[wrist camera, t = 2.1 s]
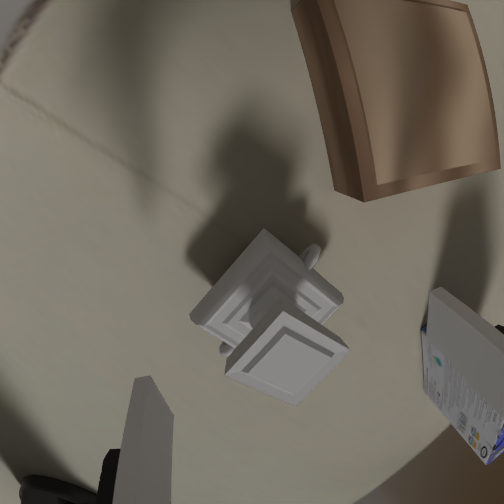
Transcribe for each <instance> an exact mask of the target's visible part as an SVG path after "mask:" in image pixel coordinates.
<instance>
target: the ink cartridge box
mask: <svg viewBox="0 0 504 504" xmlns="http://www.w3.org/2000/svg"><path fill="white" fill-rule="evenodd" d="M426 332H427V325H426V326H425V327H423V328H422V331H421V337H422V350H423V367H424V392H425V394H426V395H427V396H428V397H429V398H430V399H431V401H432V402H433V403H434V404H435V405H436V406H437V408H438V409H439V410H440V411H441V412H442V413H443V414H444V416H445V417H446V418H447V419H448V420H449V421H450V423H451V424H452V425H453V426H454V427H455V429H456V430H457V431H458V432H459V433H460V435H461V436H462V437H463V438H464V439H465V441H466V442H467V443H468V444H469V445H470V446H471V448H472V449H473V450H474V451H475V452H476V454H477V455H478V456H479V457H480V458H481V460H482V461H483V462H484V463H485V464H486V465H487V464H489V463H491V462H492V461H493V460H494V459H495V458H497V457H498V456H499V455H500V454H501V453H502V452H504V420H503V418H502V417H501V416H500V415H499V414H498V413H497V412H496V411H495V409H494V408H493V407H492V406H491V405H490V404H489V403H488V402H487V400H486V399H485V398H484V397H483V396H482V395H481V394H480V393H479V392H478V391H477V390H476V388H475V387H474V386H473V385H472V384H471V383H470V382H469V381H468V380H467V379H466V378H465V377H464V376H463V375H462V373H461V372H460V371H459V370H458V369H457V368H456V367H455V366H454V365H453V364H452V363H451V362H450V361H449V360H448V359H447V358H446V357H445V356H444V355H443V354H442V353H441V352H440V351H439V350H438V349H437V348H436V346H435V345H434V344H433V343H432V342H431V341H430V340H429V339H428V338H427V337H426Z"/></svg>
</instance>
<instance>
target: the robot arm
mask: <svg viewBox="0 0 504 504" xmlns="http://www.w3.org/2000/svg"><path fill="white" fill-rule="evenodd" d="M426 337H427V338H428V339H429V340H430V341H431V342H432V343H433V344H434V345H435V346H436V348H437V349H438V350H439V351H440V352H441V353H442V354H443V355H444V356H445V357H446V358H447V359H448V360H449V361H450V362H451V363H452V364H453V365H454V366H455V367H456V368H457V369H458V370H459V371H460V372H461V373H462V375H463V376H464V377H465V378H466V379H467V380H468V381H469V382H470V383H471V384H472V385H473V386H474V387H475V388H476V390H477V391H478V392H479V393H480V394H481V395H482V396H483V397H484V398H485V399H486V400H487V402H488V403H489V404H490V405H491V406H492V407H493V408H494V409H495V411H496V412H497V413H498V414H499V415H500V416H501V417H502V418H503V420H504V326H501V325H497V326H495V327H494V326H492V325H491V324H490V323H489V322H487V321H486V320H485V319H483V318H482V317H481V316H480V315H478V314H477V313H476V312H474V311H473V310H472V309H471V308H469V307H468V306H467V305H465V304H464V303H463V302H461V301H460V300H459V299H457V298H456V297H455V296H453V295H452V294H451V293H449V292H448V291H446V290H445V289H444V288H442V287H439V288H436V289H434V290H432V291H429V304H428V319H427V332H426ZM173 420H174V415H173V413H172V412H171V410H170V408H169V407H168V405H167V403H166V402H165V400H164V398H163V397H162V395H161V393H160V391H159V390H158V388H157V386H156V385H155V383H154V381H153V379H152V377H151V376H144V377H139V378H135V380H134V385H133V389H132V394H131V398H130V403H129V408H128V413H127V418H126V423H125V428H124V433H123V439H122V444H121V449H110V450H109V452H108V453H107V455H106V456H105V458H104V460H103V465H102V472H101V475H100V481H99V486H98V492H97V496H96V495H94V494H92V493H90V492H88V491H86V490H83V489H81V488H78V487H76V486H73V485H70V484H68V483H65V482H61V481H58V480H55V479H51V478H46V477H40V476H28V477H25V478H24V479H23V480H22V484H21V487H20V490H19V496H20V500H21V504H171V473H172V442H173Z"/></svg>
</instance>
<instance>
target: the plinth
mask: <svg viewBox="0 0 504 504" xmlns="http://www.w3.org/2000/svg"><path fill="white" fill-rule="evenodd" d="M291 12H292V15H293V18H294V22H295V25H296V28H297V31H298V35H299V38H300V42H301V45H302V49H303V52H304V56H305V59H306V63H307V67H308V71H309V74H310V78H311V82H312V86H313V90H314V94H315V98H316V103H317V107H318V111H319V115H320V120H321V124H322V129H323V133H324V138H325V143H326V148H327V153H328V158H329V163H330V168H331V173H332V179H333V184H334V190H335V191H337V192H339V193H342V194H345V195H347V196H350V197H352V198H355V199H357V200H360V201H362V202H367V201H371V200H375V199H379V198H383V197H387V196H391V195H395V194H399V193H403V192H407V191H411V190H415V189H419V188H423V187H427V186H431V185H435V184H439V183H443V182H447V181H451V180H455V179H459V178H463V177H467V176H472V175H476V174H480V173H484V172H488V171H493V170H497V169H501V167H500V153H499V142H498V133H497V125H496V118H495V111H494V105H493V99H492V93H491V88H490V83H489V78H488V74H487V69H486V65H485V61H484V57H483V53H482V50H481V46H480V42H479V39H478V36H477V32H476V29H475V26H474V23H473V20H472V17H471V14H470V11H469V8H468V6H467V5H466V4H462V3H458V2H454V1H450V0H300V1H299V2H298V4H297V5H296V6H295V8H294V9H293V10H292V11H291Z"/></svg>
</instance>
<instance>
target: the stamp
mask: <svg viewBox="0 0 504 504" xmlns="http://www.w3.org/2000/svg"><path fill="white" fill-rule="evenodd" d="M320 251H321V247H320V246H318V245H316V244H311V245H310V246H308V247H307V248H306V249H305V250H304V251H303V252H302V253H301V254H300V255H298V256H297V255H296V254H295V253H294V252H293V251H291V250H290V249H289V248H288V247H287V246H285V245H284V244H283V243H282V242H281V241H279V240H278V239H277V238H276V237H275V236H273V235H272V234H271V233H270V232H269V231H267V230H266V229H265V228H263V229H262V231H261V232H260V233H259V234H258V235H257V236H256V237H255V239H254V240H253V241H252V242H251V243H250V244H249V246H248V247H247V248H246V249H245V250H244V251H243V252H242V254H241V255H240V256H239V257H238V258H237V259H236V261H235V262H234V263H233V264H232V265H231V266H230V268H229V269H228V270H227V271H226V272H225V273H224V274H223V276H222V277H221V278H220V279H219V280H218V281H217V283H216V284H215V285H214V286H213V287H212V288H211V290H210V291H209V292H208V293H207V294H206V295H205V297H204V298H203V299H202V300H201V301H200V302H199V304H198V305H197V306H196V307H195V308H194V309H193V311H192V312H191V313H190V314H189V315H190V319H191V320H192V321H193V322H194V323H195V324H196V325H198V326H200V327H201V328H203V329H204V330H206V331H207V332H209V333H211V334H212V335H214V336H215V337H217V338H219V339H220V340H222V341H223V342H222V344H221V345H220V355H222V356H229V357H228V358H227V360H226V367H225V376H227V377H229V378H231V379H234V380H236V381H238V382H240V383H242V384H244V385H247V386H249V387H251V388H253V389H256V390H258V391H260V392H262V393H265V394H267V395H269V396H272V397H274V398H276V399H279V400H281V401H284V402H286V403H289V404H291V405H294V406H297V405H298V404H299V403H300V402H301V401H302V400H303V399H304V398H305V397H306V396H307V395H308V394H309V393H310V392H311V391H312V390H313V389H314V388H315V387H316V386H317V385H318V384H319V383H320V382H321V381H322V380H323V379H324V378H325V377H326V376H327V375H328V374H329V373H330V372H331V371H332V370H333V369H334V367H335V366H336V365H337V364H338V363H339V362H340V361H341V360H342V359H343V358H344V357H345V356H346V354H347V353H348V352H349V351H350V349H349V348H348V346H347V345H346V344H345V343H344V342H343V340H342V339H341V338H340V337H339V336H337V335H336V334H334V333H333V332H331V331H330V330H328V329H327V328H326V327H324V326H323V325H322V324H323V323H324V322H325V321H326V320H327V319H328V318H329V317H330V316H331V315H332V314H333V313H334V312H335V311H336V310H337V309H338V307H339V306H340V305H341V304H342V303H343V300H344V297H343V295H342V293H341V292H340V291H338V290H337V289H336V288H335V287H334V286H333V285H331V284H330V283H329V282H328V281H327V280H326V279H324V278H323V277H322V276H321V275H320V274H319V273H317V272H316V271H315V270H314V269H313V268H312V267H313V266H314V264H315V263H316V262H317V260H318V258H319V255H320Z"/></svg>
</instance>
